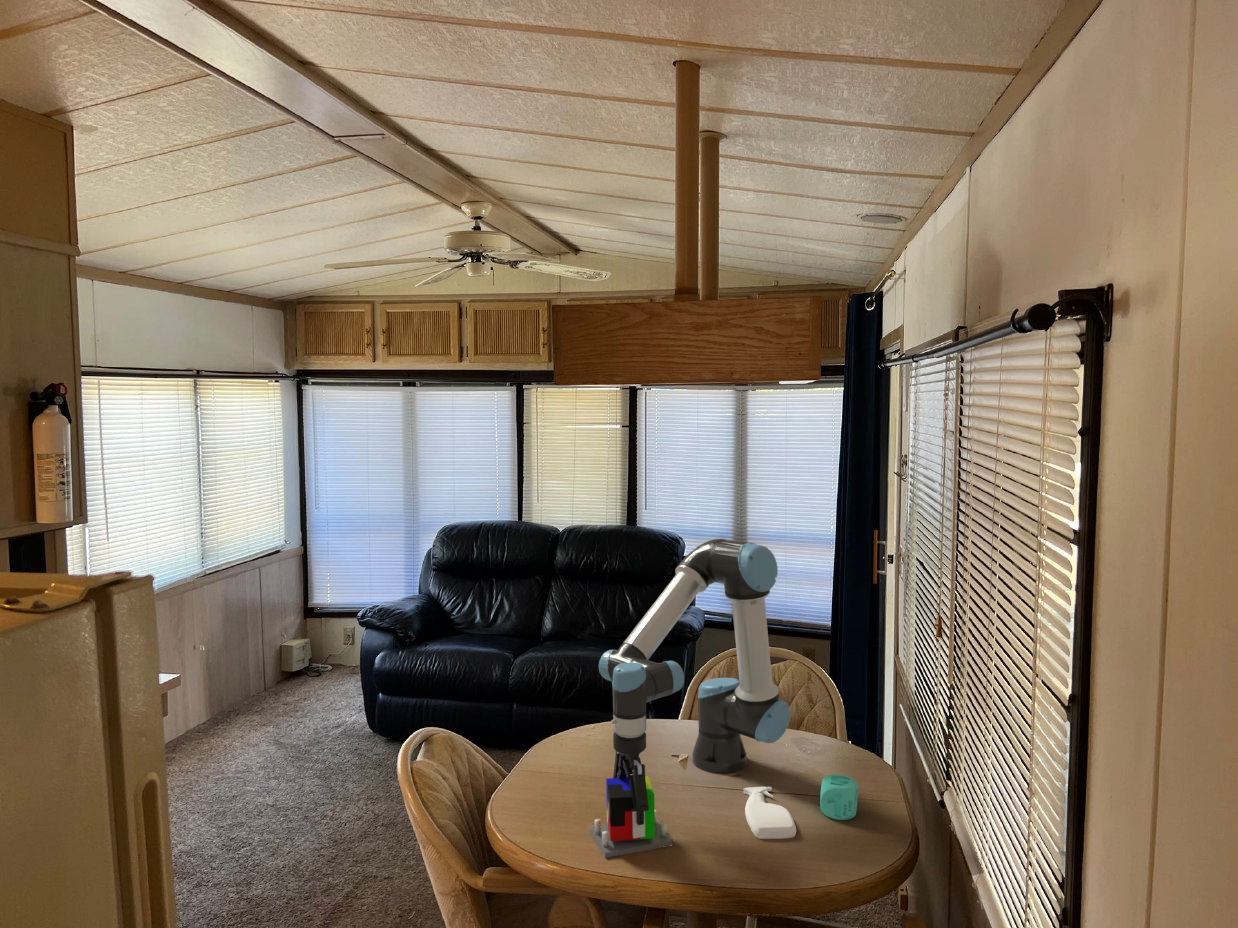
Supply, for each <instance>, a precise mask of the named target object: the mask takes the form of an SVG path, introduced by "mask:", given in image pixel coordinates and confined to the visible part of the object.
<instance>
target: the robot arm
mask: <svg viewBox="0 0 1238 928" xmlns="http://www.w3.org/2000/svg"><path fill="white" fill-rule="evenodd" d="M674 571H675V575H674V576H673V578H672V579H671V580H670V582H669V583H668V584H667V585H666V587H665V588H664V590H663V591H662V592H661V594H660V595H659V596H658V597H657V599H656V600H655V602H654V603H652V605H651V606H650V608H649V609H648V610H647V612H646V613H645V614H644V616H642V618H641V619H640V620H639V622H638V623H637V624H636V625H635V627H634V628H633V630H632V631H631V632H630V634H629V635H628V636H627V637H626V639H625V640H624V641H623V643H622V644H621V645H620V646H619V648H618V649H609V650H607V651H604V653H602V655H601V657H600V658H599V662H598V670H599V674H600V675H601V677H602V678H604V679H605V680H606V681H609V682H611V685H612V707H613V708H612V714H613V715H612V717H613V719H611V720H610V721H611V724H612V725H613V745H612V746H613V749H614V750H615V756H614V764H613V765H614V768H613V775H612V778H618V779H622V778H627V779H628V780H629V782H630V788H631V793H632V799H633V805H634V808H633V809H631V811H632V819H633V838H639V837H645V811H647V810H649V806H648V797H647V788H646V779H645V776H646V765H645V764H644V763H642V761H641V760H642V759H641V758H640V754H641V753H642V752H644V751H645V750H646V748H647V734H646V732H647V703H650V702H651V701H654V700H657V699H661V698H663V697H664V698H665V697H667V696H671V695H672V694H675V693H676V692H679V691H680V690H682V688H683V687H684V684H685V674H684V671H683V668H682V667H681V665H680V664H679V663H678V662H676V661H674V660H667V661H666V660H665V661H664V660H663V661H661V662H655V661H651V660H649V659H650V658H651V657H652V655H653V654H654V653H655V651H656V650H657V649H658V647H659V646H660V645H661V643H662V642H663V641H664V639H665V638H666V637H667V636H668V634H669V632H670V631H672V629H673V628H674V626H675V625H676V624H677V622H678V621H679V619H680V618H681V617H682V615H683V614H684V613H685V611H686V610H687V608H688V607H689V606H690V604H692V602H693V600H694V599H695V598H696V597H697V595H698V594H699V593H704V592H705V591H706V590H707V588H708V587H709V586H711V585H712V584H715V583H717V584H722V585H723V586H724V595H725V597H726V598H727V599H728V600H729V601H730V602H731V608H732V609H731V610H732V617H733V618H732V619H733V628H734V638H735V647H736V649H735V650H736V658H737V667H738V668H737V669H738V678H739V679H738V678H735V677H716V678H710V679H706V680H705V681H702V682H701V683H700V685H699V686H698V696H697V702H698V703H697V704H698V705H697V707H698V708H697V709H698V711H697V712H698V713H697V715H698V735H697V738H696V741H695V744H694V746H693V750H692V754H691V755H692V756H691V757H692V759H691V760H692V761H691V762H692V763H693V764H694V765H695V766H696V767H697V768H699V769H701V770H703V771H707V772H713V773H730V772H736V771H739V770H742V769H743V768H745V767H746V765H747V763H748V761H747V760H748V759H747V757H748V755H747V752H746V748H745V746H744V742H743V738H742V736H745V737H748V738H751V739H753V740H755V741H756V742H762V743H766V744H774V743H775V742H777V741H779V740H780V739H781V738H782V737H783V736H784V734H785V732H786V730H787V728H788V726H789V723H790V719H791V708H790V706H789V704H788V703H787V702H786V701H785V700H782V699H781V698H780V690H779V687H778V685H776V684H775V683H774V682H773V675H772V664H771V655H770V654H771V653H770V645H769V644H770V643H769V634H768V633H769V631H768V621H767V620H768V619H767V611H766V598H767V597H768V596H769V595H770V593H771V591H770V590H772V588H773V587H774V585H775V584H776V581H777V580H776V578H778V571H779V570H778V563H777V559H776V557H775V555H774V553H773V552H772V551H771V550H770V549H769V548H768V547H767V546H764V545H760V544H757V543H755V542H745V541H736V540H732V539H731V540H729V539H725V538H714V539H710V540H708V541H704V542H703V543H701V544H700V545H698V546H696V547H695V548H694V549H693V550H692V551H691V552H689V553H688V554H687V555H686V556H685V557H684V558H683V559H682V560H681V561H680V563H679V564H678V565H677V567H676V568H675V570H674ZM741 735H742V736H741Z"/></svg>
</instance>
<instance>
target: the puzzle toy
mask: <svg viewBox="0 0 1238 928" xmlns="http://www.w3.org/2000/svg"><path fill="white" fill-rule="evenodd" d="M645 779H646V788H647V797H648V806H649V810H647V811H645V837H639V838H633V819H632V811H631V809H633V808H634V805H633V799H632V793H631V788H630V782H629V780H628V779H627V778H622V779H618V778H613V777H610V778H606V779H605V780H606V783H605V785H606V786H605V787H606V789H605V791H606V793H605V794H606V797H605V798H606V823H607V824H606V825H608V829H609V835H610V840H611V841H620V840H636V839H652V838H655V816H654V810H655V793H654V790H653V786H652V784H651V781H650V778H649V776H646V775H645Z"/></svg>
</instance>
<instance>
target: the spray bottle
mask: <svg viewBox="0 0 1238 928" xmlns="http://www.w3.org/2000/svg"><path fill="white" fill-rule="evenodd" d="M772 791H773V788H772V786H751V787H750V786H749V787H744V788H743V794H745V795H748V796H749V797H748V799H747V801H746V803H745V808H744V814H745V819H746V823H747V824H748V826H749V828H750V830H751V832H752V834H753V835H754V837H756V838H757V839H758V840H759V839H760V840H772V839H773V840H777V839H791V838H795V836H796V833H797V827H796V824H795V821H794V819H793V816H792V815H791V813H790V812H789V810H788V809H787V808H785V807H783V805H782V806H781V805H779V804H775V803H770V802H766V801H765V796H766V797H769V798H772V799H773V798H774V795H772V794H771V793H769V792H772Z"/></svg>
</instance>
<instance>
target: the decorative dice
mask: <svg viewBox="0 0 1238 928" xmlns="http://www.w3.org/2000/svg"><path fill="white" fill-rule="evenodd" d="M858 787H859V786H858V783H857V782H856V781H855V779H854V778H852V777H850V776H848V775H843V774H838V773H836V774H834V773H833V774H828V775H826V776H824V777H823V778H822V780H821V786H820V797H819V800H820V801H819V804H820V806H819V807H820V811H821V812H822V813H823V815H825V816H826V817H827V818H830V819H832V820H837V821H848V820H852V819H853V818H855V817H856V816H857V815H856V814H857V811H858V796H859V795H858V794H859V791H858V789H859V788H858Z"/></svg>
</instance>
